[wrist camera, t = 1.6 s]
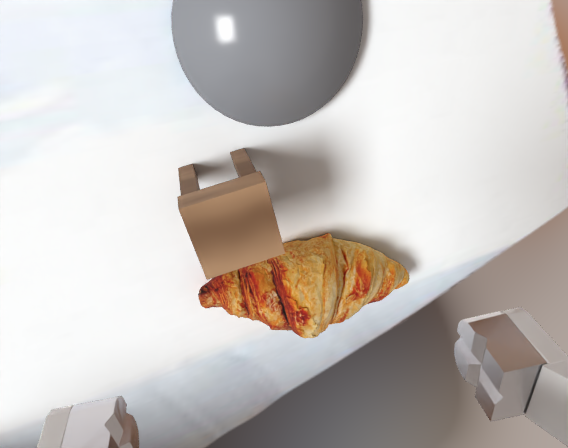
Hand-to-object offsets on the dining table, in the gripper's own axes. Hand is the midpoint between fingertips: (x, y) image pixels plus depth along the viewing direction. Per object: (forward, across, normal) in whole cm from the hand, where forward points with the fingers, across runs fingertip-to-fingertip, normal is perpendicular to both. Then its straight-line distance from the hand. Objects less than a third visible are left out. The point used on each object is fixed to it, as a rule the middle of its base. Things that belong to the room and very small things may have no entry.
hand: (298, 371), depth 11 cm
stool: (+27, -2, -9) cm, 28 cm away
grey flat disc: (+28, +4, +2) cm, 28 cm away
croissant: (+27, +4, -20) cm, 34 cm away
